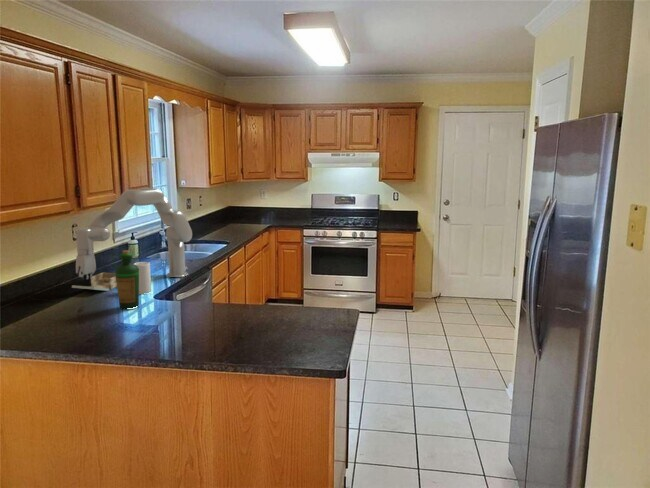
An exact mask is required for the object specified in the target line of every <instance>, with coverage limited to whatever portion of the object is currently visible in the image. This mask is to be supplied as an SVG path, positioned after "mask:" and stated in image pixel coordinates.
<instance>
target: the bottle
mask: <svg viewBox="0 0 650 488" xmlns="http://www.w3.org/2000/svg"><path fill="white" fill-rule="evenodd" d="M120 260H121V264H119V265H118V266H117V267H116V269H115V271H114V273H115V275H116V283H117V287H116V288H117V290H116V291H117V297H118V306H119V309H121V308H122V309H121V310H123V309H127V308H133V307H136V306H138V305H140V295H139V268H138V267H137V266H136V265H134V263H132V260H133V253H132V252H131V251H130V250H129V249H128V250H127V249H125V250H122V253H120ZM138 307H139V306H138Z"/></svg>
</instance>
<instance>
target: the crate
mask: <svg viewBox="0 0 650 488" xmlns="http://www.w3.org/2000/svg"><path fill="white" fill-rule="evenodd" d="M90 287H99V288H107V289H110V290H113V289H115V288H117V283H116V275H115V272H101V273H98V274H95V275H92V278H91V286H90Z"/></svg>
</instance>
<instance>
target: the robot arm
mask: <svg viewBox="0 0 650 488" xmlns="http://www.w3.org/2000/svg"><path fill="white" fill-rule="evenodd" d="M152 205H153V206H154V208H155V209H156V211H157V213H158V216H159V218H160V220H161V222H162V223H163V224H164V225H166V226H168V227H167V228H166V230H165V231H166V232H165V235H166V240H167V241H166V242H167V245H168V247H167V251H168V270H169V271H168V273H166V277H167V276H168V278H170V277H181V278H185V276H186V277H188V276H189V273H188V272H187V270H188V269H189V268H188V266H186V249H185V248H186V247H185V243H188V242H190V241H191V240H192V238H193V229H192V228H191V226H190V223H189V221H188V219H187V217H186V215H185V213H184V212H182V211H181V210H177V209H176V210H175V209H174V208H173V206H172V205H171V203H170V201H169V199H168V197H167V196H166V195H165V194H164V192H163V191H162V190H161V189H160V188H152V187H142V188H140V189H126V190H124V191H123V192H122V193H121V194H120V195H119V197H118V198H117V199H116V201H115V202H114V203H112V205H111V206H109V208H108V209H106V210H105V211H103V212H101V213H100V214H99V215H98V216H97V217H95V218H94V219H93V221H92V222H91V223H89V225H88V227H79V228H77V229H76V231H75V234H76V235H75V236H76V238H75V239H76V252H77V253H76V254H77V255H76V258H75V274H77V275H78V277H79V278H81V279H82V280H83V286H88V287H90V286H91V278H92V276H93V275H94V274H95V272H96V270H97V263H96V262H97V261H96V256H95V251H94V250H95V249H94V242H106V241H107V240H109V239H110V237H111V231H110V230H109V229H108V228H107V227H108V226H109V225H111V224H113V223H115V222H117V221H120V220H122V219H124V218H125V217H126V216H127V214H128V213H129V212H130V211H131V210H132V208H133V207H134V206H137V207H138V206H139V207H140V206H152ZM187 275H188V276H187Z"/></svg>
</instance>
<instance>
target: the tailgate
mask: <svg viewBox="0 0 650 488" xmlns="http://www.w3.org/2000/svg"><path fill="white" fill-rule="evenodd" d="M71 288H72V289H83V290H92V291H93V290H94V291H105V292H106V291H107V292H108V291H110V290H111V289H107V288H99V287H88V286H84V285H73V284H72V285H71Z"/></svg>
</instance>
